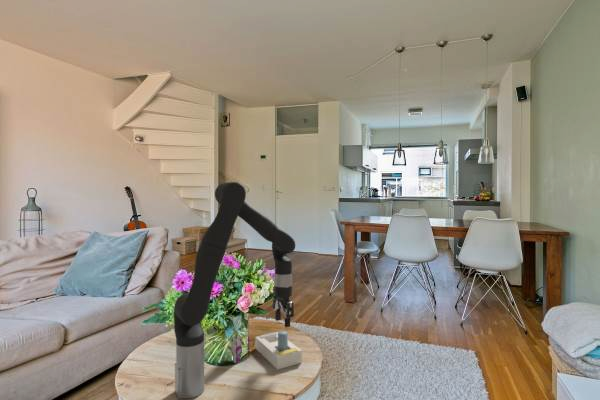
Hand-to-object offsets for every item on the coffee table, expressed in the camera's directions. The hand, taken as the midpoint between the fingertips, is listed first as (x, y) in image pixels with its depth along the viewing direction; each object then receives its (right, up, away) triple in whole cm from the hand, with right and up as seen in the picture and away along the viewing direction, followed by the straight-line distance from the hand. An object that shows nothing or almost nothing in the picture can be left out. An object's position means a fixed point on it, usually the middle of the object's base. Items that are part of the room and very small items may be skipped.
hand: (282, 323), depth 139 cm
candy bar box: (-19, -15, +3) cm, 25 cm away
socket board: (-2, -15, +4) cm, 16 cm away
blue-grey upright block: (0, -14, 0) cm, 14 cm away
